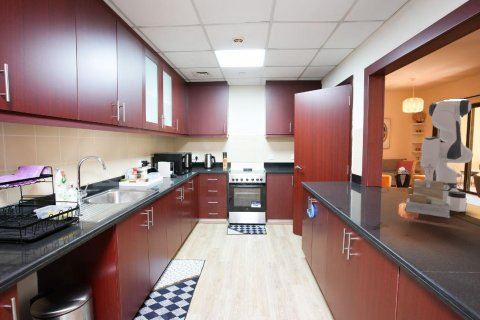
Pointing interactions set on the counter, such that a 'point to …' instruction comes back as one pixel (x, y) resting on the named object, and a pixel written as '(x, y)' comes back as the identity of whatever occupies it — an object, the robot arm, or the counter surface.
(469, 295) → the counter surface
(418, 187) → the sheet
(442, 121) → the robot arm
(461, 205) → the jar
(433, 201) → the offcut short
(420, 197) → the offcut tall
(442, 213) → the rack
